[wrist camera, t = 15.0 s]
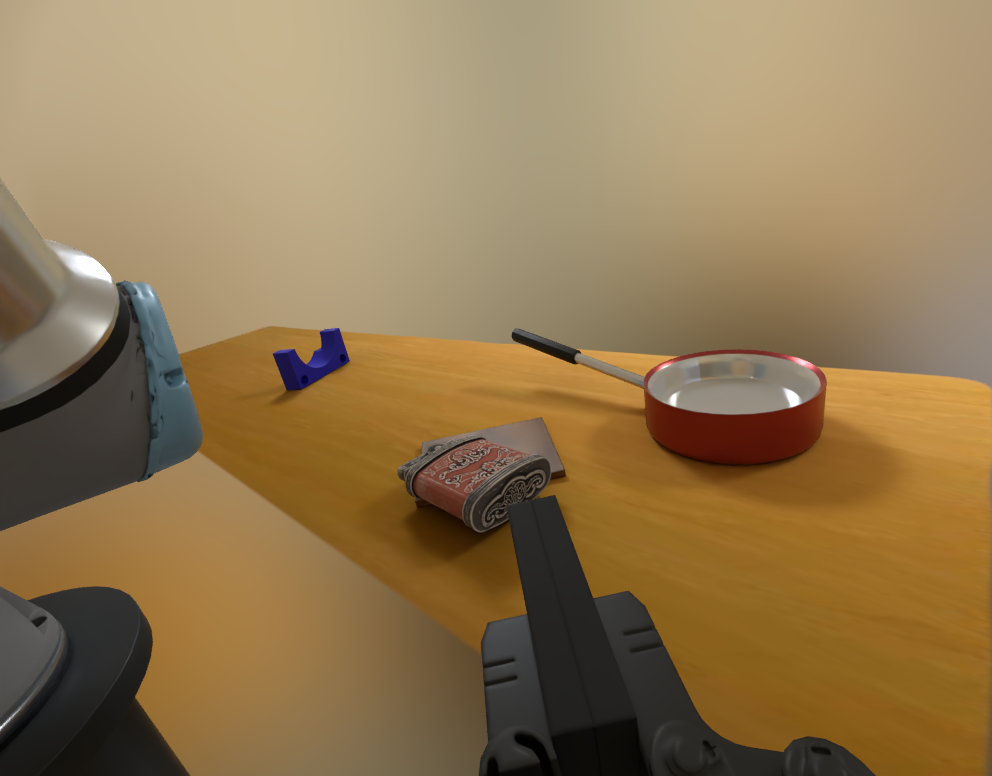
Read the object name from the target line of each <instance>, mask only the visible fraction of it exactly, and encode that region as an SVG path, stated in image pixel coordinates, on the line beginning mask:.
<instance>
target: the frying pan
mask: <svg viewBox="0 0 992 776" xmlns="http://www.w3.org/2000/svg"><path fill="white" fill-rule="evenodd" d="M512 339H513V340H514V341H516V342H518V343H521V344H523V345H526V346H529V347H531V348H534V349H536V350H539V351H541V352H544V353H546V354H549V355H551V356H554V357H557V358H559V359H562V360H564V361H567V362H569V363H572V364H581V365H583V366H586V367H588V368H591V369H593V370H596V371H599V372H601V373H604V374H606V375H609V376H612V377H614V378H617V379H619V380H622V381H624V382H627V383H630V384H632V385H635V386H637V387H640V388H643V389H644V397H645V410H646V423H647V427H648V429H649V431H650V433H651V435H652V436H653V437H654V438H655V439H656V440H657V441H658V442H659V443H660V444H662V445H663V446H665V447H666V448H668V449H670V450H672V451H674V452H676V453H679V454H681V455H684V456H687V457H690V458H694V459H697V460H702V461H707V462H713V463H722V464H758V463H767V462H772V461H777V460H781V459H786V458H789V457H791V456H794V455H796V454H799V453H801V452H803V451H804V450H806V449H807V448H809V447H811V446H812V445H813V444H814V443H815V442H816V441H817V439H818V438H819V437H820V435H821V431H822V428H823V421H824V409H825V397H826V385H827V381H826V377H825V375H824V373H823V372H822V371H821V370H820V369H819V368H817V367H816V366H814V365H812V364H811V363H809V362H807V361H804V360H802V359H799V358H796V357H792V356H789V355H784V354H779V353H774V352H766V351H757V350H717V351H707V352H700V353H694V354H689V355H684V356H680V357H677V358H674V359H670V360H668V361H666V362H663V363H661V364H659V365H657V366H656V367H654V368H653V369H651V370H650V371H649V372H648V373H647V374H646V376H645V377H643V376H641V375H638V374H635V373H632V372H630V371H627V370H624V369H622V368H619V367H616V366H613V365H611V364H608V363H605V362H602V361H600V360H597V359H594V358H591V357H589V356H586V355H583V354H581V352H580V351H579V350H576V349H573V348H570V347H567V346H565V345H562V344H559V343H557V342H554V341H551V340H548V339H546V338H543V337H540V336H537V335H535V334H532V333H529V332H526V331H524V330H521V329H514V331H513V332H512Z"/></svg>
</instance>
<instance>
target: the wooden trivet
mask: <svg viewBox="0 0 992 776" xmlns="http://www.w3.org/2000/svg"><path fill="white" fill-rule="evenodd" d="M471 435H479V436H482V437H484V438H486V440H487V441H490V442H493V443H496V444H499V445H502V446H505V447H508V448H511V449H514V450H516V451H519V452H522V453H525V454H528V455H532V454H537V455H540V456H543V457H545V458H547V459H548V460H549V462H550V464H551V477H550V479H553V478H558V477H562V476H565V475H566V474H565V469H564V467H563V465H562V462H561V460H560V458H559V455H558V453H557V451H556V449H555V446H554V444H553V442H552V439H551V437H550V435H549V433H548V430H547V428H546V426H545V424H544V421H543V419H542V417H540V418H536V419H531V420H526V421H521V422H517V423H512V424H507V425H502V426H498V427H493V428H488V429H483V430H479V431H474V432H469V433H464V434H460V435H455V436H450V437H445V438H441V439H436V440H431V441H426V442H423V443H422V450H421V455H423V454H425V453H426V451H427V448H428V447H429V446H431V445H434V444H441V443H446V442H448V441H450V440H452V439H455V440H457V439H460V438H463V437H467V436H471ZM415 503H416V506H417V507H422V506H426V505H431V503H430V502H428V501H426V500H424V499H422V500H420V499H417V498H416V500H415Z"/></svg>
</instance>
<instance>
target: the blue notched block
mask: <svg viewBox="0 0 992 776" xmlns="http://www.w3.org/2000/svg"><path fill="white" fill-rule="evenodd" d="M320 335H321V342H322V346H321V348H320V349H318V350H316V351H314V354H313V356H312V358H311V360H310V362H309V363H308V364H307V365H306V364H305V363H304V362H302V361H301V359H300V358H299V357H298V355H297V353H296V351H295V349H290V350H279V351H277V352H275V353H273V356H274V358H275V361H276V364H277V366H278V369H279V371H280V374H281V377H282V379H283V382H284V384H285V387H286V390H298V389H303V388H304V387H306V386H308V385H309V384H311V383H313V382H315V381H316V380H318V379H320V378H321V377H323V376H325V375H327V374H328V373H330V372H332V371H333V370H335V369H337V368H339V367H340V366H342V365H344V364H345V363H347V362H349V361H350V360H349V357H348V354H347V351H346V348H345V345H344V342H343V339H342V336H341V332H340V329H339V328H335V329H325V330H323V331H321V332H320Z"/></svg>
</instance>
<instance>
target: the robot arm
mask: <svg viewBox="0 0 992 776" xmlns="http://www.w3.org/2000/svg"><path fill="white" fill-rule="evenodd" d="M183 371H184V370H183V367H182V364H181V361H180V358H179V354H178V351H177V348H176V345H175V342H174V340H173V336H172V334H171V331H170V328H169V325H168V322H167V319H166V317H165V314H164V311H163V309H162V306H161V303H160V301H159V298H158V296H157V293H156V292H155V290H154V288H153V287H151V286H150V285H148V284H146V283H143V282H136V283H130V282H128V281H123V282H120V283H119V282H118V283H116V284H115V283H114V281H113V279H112V278H111V276H110V275H109V274H108V273H107V271H106V270H105V269H104V268H103V267H102V266H101V265H100V264H99V262H98V261H96V260H95V259H93V258H92V257H90V256H89V255H88V254H86V253H84V252H82V251H80V250H78V249H75V248H73V247H71V246H68V245H65V244H62V243H59V242H55V241H51V240H47V239H43V238H42V237H41V235H40V234H39V232H38V231H37V230H36V228H35V227H34V225H33V224H32V222H31V221H30V220H29V218H28V217H27V215H26V214H25V212H24V211H23V210H22V208H21V207H20V205H19V204H18V202H17V201H16V200H15V198H14V197H13V195H12V194H11V193H10V191H9V190H8V188H7V187H6V185H5V184H4V182H3V181H2V180H1V178H0V531H2V530H5V529H7V528H10V527H13V526H15V525H18V524H21V523H23V522H26V521H28V520H31V519H34V518H36V517H39V516H42V515H45V514H47V513H50V512H53V511H56V510H58V509H61V508H64V507H67V506H69V505H72V504H75V503H78V502H81V501H83V500H86V499H89V498H92V497H94V496H97V495H100V494H103V493H105V492H108V491H111V490H114V489H117V488H119V487H122V486H124V485H128V484H130V483H133V482H136V481H137V482H140V481H144V480H147V479H148V478H150V477H151V476H153V474H154V473H156V472H159V471H161V470H163V469H166V468H168V467H170V466H173V465H175V464H177V463H180V462H182V461H184V460H186V459H188V458H190V457H191V456H192V455H194V454H195V453H196V452H197V450H198V449H199V448H200V446H201V443H202V440H203V432H202V427H201V423H200V419H199V416H198V412H197V409H196V406H195V403H194V400H193V397H192V394H191V391H190V388H189V385H188V382H187V379H186V377H185V375H184V372H183ZM506 506H507V511H508V516H509V522H510V527H511V532H512V537H513V542H514V548H515V553H516V558H517V563H518V568H519V574H520V579H521V584H522V589H523V594H524V600H525V605H526V610H527V614H526V615H521V616H516V617H512V618H507V619H503V620H498V621H493V622H489V623H488V624H487V627H486V630H485V633H484V636H483V639H482V641H481V651H482V663H483V677H484V686H485V687H484V691H485V705H486V718H487V732H488V744H487V746H486V748H485V750H484V752H483V755H482V757H481V761H480V769H479V776H875V775H874V774H873V773H872V772H871V771H870V770H869V769H868V768H867V767H866V766H865V765H864V764H863V763H862V762H861V761H860V760H859V759H858V758H856V757H855V756H854V755H853V754H851V753H850V752H849V751H848V750H846V749H845V748H844V747H842V746H839V745H837V744H835V743H833V742H831V741H828V740H826V739H822V738H815V737H808V736H807V737H804V738H800V739H796V740H793V741H792V742H791V743H790V745H789V746H788V747H787V748H786V749H785V750H784V752H778V751H772V750H765V749H758V748H751V747H746V746H742V745H739V744H735V743H733V742H731V741H729V740H727V739H725V738H723V737H721V736H720V735H719V734H717V733H716V732H715V731H713V730H712V729H711V728H710V727H709V726H708V725H707V724H706V723H705V722H704V721H703V720H702V718H701V717H700V715H699V713H698V712H697V710H696V709H695V707H694V705H693V703H692V701H691V699H690V697H689V694H688V692H687V690H686V688H685V686H684V684H683V682H682V680H681V678H680V676H679V674H678V672H677V670H676V668H675V666H674V664H673V662H672V660H671V658H670V656H669V654H668V652H667V650H666V648H665V646H664V645H663V642H662V640H661V637H660V635H659V633H658V631H657V629H655V625H654V623H653V621H652V619H651V617H650V615H649V613H648V611H647V609H646V607H645V605H643V604H642V603H641V602H640V601H639V600H638V599H637V598H636V597H635V596H634V595H632V594H631V593H630V592H629V591H625V592H621V593H616V594H612V595H607V596H602V597H598V598H593V597H592V594H591V591H590V589H589V586H588V583H587V580H586V578H585V575H584V572H583V570H582V567H581V564H580V561H579V559H578V556H577V553H576V551H575V548H574V545H573V542H572V540H571V537H570V534H569V532H568V529H567V526H566V523H565V521H564V518H563V515H562V513H561V510H560V507H559V504H558V502H557V499H556V496H555V495H553V496H548V497H544V498H539V499H534V500H530V501H525V502H520V503H516V504H511V505H506ZM72 649H73V645H72V640H71V638H70V636H69V634H68V633H67V632H66V630H65V629H64V628H63V626H62V625H61V623H60V622H59V621H58V620H57V619H56V618H54V617H53V616H52V615H51V614H50V613H49V612H47V611H46V610H44V609H42V608H40V607H38V606H36V605H34V604H32V603H30V602H29V601H27V600H25V599H23V598H21V597H19V596H17V595H15V594H13V593H11V592H10V591H8V590H6V589H4V588H2V587H0V752H1V751H2V750H3V749H4V748H5V747H6V746H7V745H8V744H9V743H10V742H11V741H12V740H13V739H14V738H15V737H16V736H17V735H18V734H19V733H20V732H21V731H22V730H23V729H24V728H25V726H26V725H27V724H28V723H29V722H30V721H31V720H32V719H33V717H34V716H35V715H36V714H37V713H38V712H39V710H40V709H41V708H42V707H43V705H44V704H45V703H46V701H47V700H48V699H49V698H50V696H51V695H52V693H53V692H54V690H55V689H56V688H57V686H58V684H59V683H60V681H61V679H62V678H63V676H64V674H65V672H66V670H67V668H68V665H69V662H70V660H71V656H72Z"/></svg>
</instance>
